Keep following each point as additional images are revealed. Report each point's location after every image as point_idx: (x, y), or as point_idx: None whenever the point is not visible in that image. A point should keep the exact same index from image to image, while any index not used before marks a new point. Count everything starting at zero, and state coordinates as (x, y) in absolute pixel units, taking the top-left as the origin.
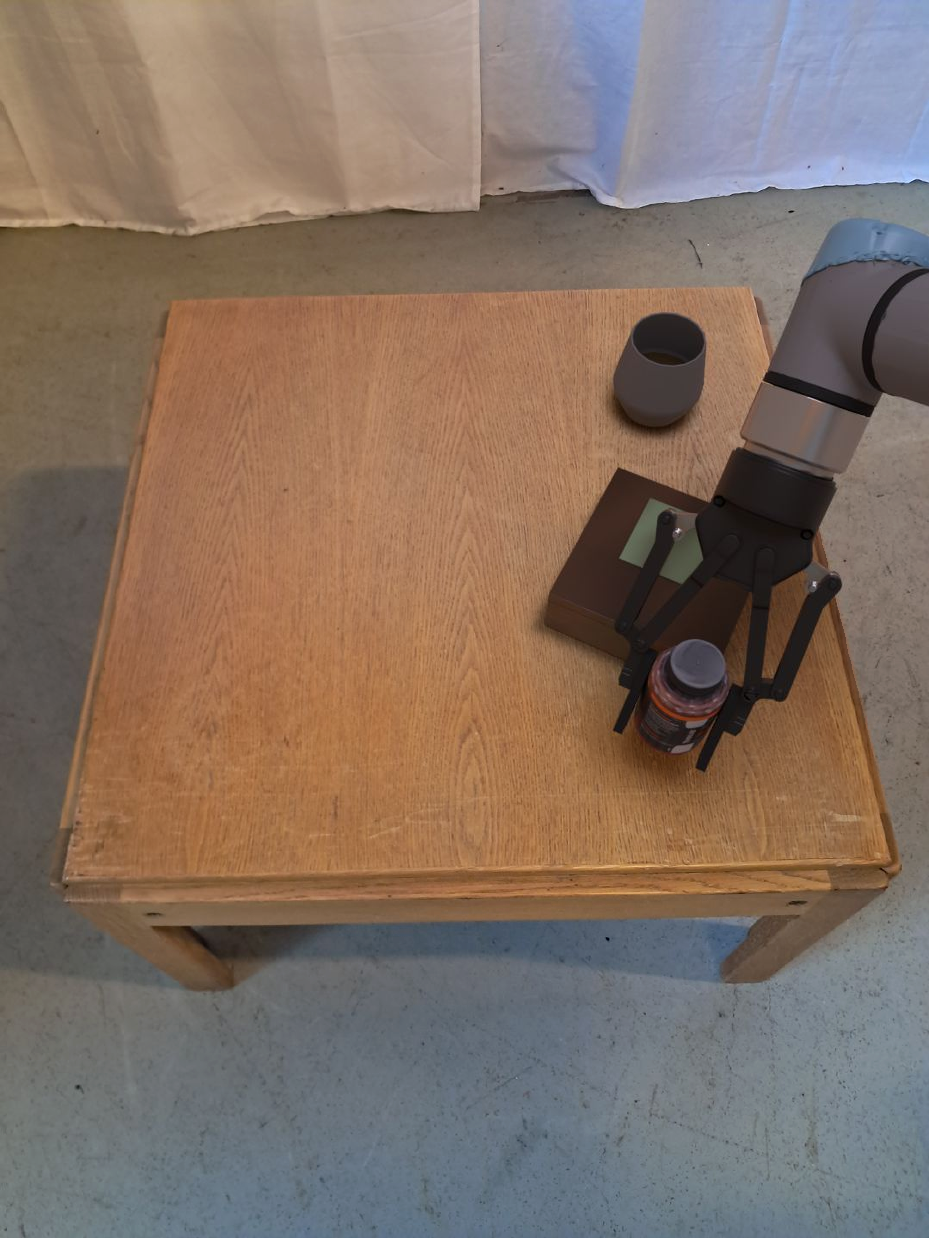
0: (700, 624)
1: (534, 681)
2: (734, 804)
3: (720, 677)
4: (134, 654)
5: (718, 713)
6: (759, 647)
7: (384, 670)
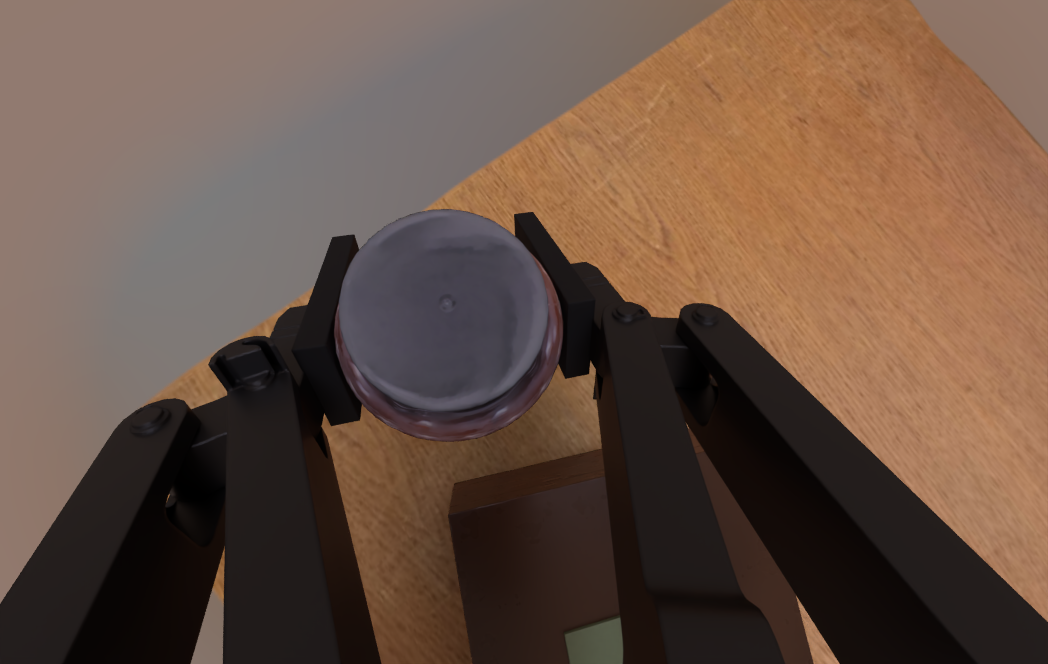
0: (520, 570)
1: None
2: None
3: (344, 301)
4: (978, 111)
5: None
6: (253, 515)
7: (790, 248)
